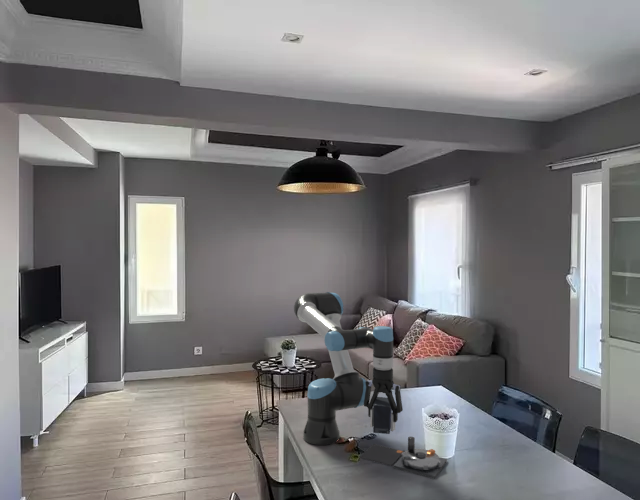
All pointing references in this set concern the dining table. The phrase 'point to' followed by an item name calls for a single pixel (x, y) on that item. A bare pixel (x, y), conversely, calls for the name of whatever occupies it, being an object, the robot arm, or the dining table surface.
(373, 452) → the pad
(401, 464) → the sprocket base
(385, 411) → the small box
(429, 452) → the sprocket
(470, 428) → the dining table surface
